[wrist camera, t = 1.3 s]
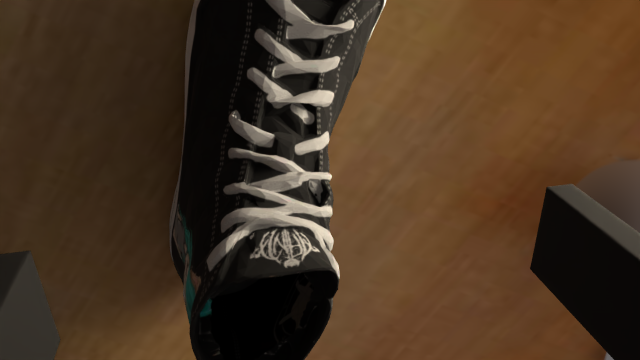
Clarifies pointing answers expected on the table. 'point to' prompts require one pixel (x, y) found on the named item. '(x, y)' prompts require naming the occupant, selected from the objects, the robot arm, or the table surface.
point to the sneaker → (262, 171)
